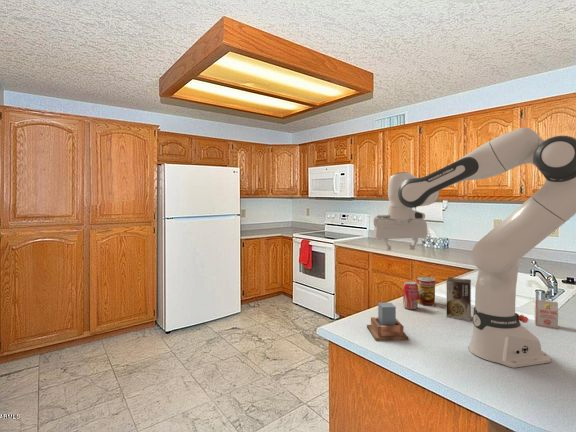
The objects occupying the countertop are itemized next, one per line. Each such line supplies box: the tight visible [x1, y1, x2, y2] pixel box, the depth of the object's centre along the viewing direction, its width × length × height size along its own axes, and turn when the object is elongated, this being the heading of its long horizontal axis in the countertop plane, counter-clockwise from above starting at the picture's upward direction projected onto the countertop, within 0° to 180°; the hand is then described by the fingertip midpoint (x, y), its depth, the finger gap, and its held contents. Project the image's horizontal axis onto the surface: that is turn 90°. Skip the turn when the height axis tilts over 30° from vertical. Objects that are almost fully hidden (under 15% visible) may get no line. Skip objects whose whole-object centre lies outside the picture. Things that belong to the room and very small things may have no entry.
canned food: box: [416, 276, 436, 307], centre depth 156 cm, size 8×8×12 cm
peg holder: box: [366, 316, 409, 341], centre depth 122 cm, size 12×12×4 cm
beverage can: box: [402, 280, 419, 310], centre depth 150 cm, size 6×6×12 cm
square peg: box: [377, 302, 397, 326], centre depth 122 cm, size 5×5×10 cm
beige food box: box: [534, 299, 559, 330], centre depth 127 cm, size 4×7×10 cm, turn 59°
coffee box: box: [445, 276, 472, 322], centre depth 138 cm, size 9×6×16 cm
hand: (400, 249), depth 126 cm, fingers open, 8 cm apart
